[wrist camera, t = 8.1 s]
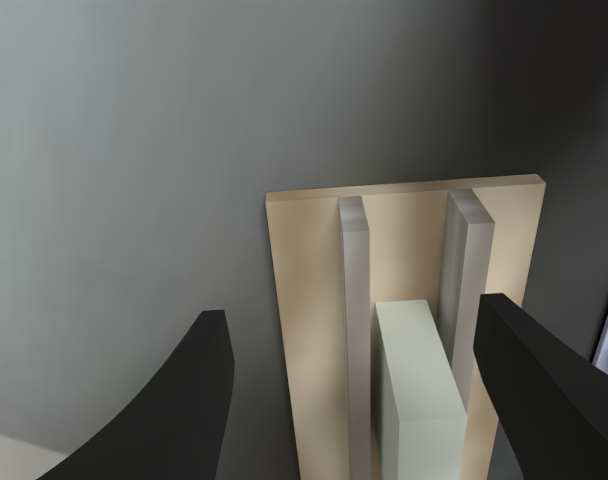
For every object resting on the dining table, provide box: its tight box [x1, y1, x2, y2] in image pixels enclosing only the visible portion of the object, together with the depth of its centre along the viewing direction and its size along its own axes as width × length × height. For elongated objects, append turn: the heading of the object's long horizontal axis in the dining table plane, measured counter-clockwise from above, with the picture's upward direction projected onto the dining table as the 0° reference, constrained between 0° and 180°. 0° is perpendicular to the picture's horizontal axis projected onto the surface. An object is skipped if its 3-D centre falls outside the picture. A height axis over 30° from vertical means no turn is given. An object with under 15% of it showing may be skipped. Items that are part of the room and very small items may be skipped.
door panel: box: [375, 299, 468, 480], centre depth 24 cm, size 2×10×7 cm, turn 5°
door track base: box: [265, 174, 546, 480], centre depth 26 cm, size 12×22×4 cm, turn 4°
